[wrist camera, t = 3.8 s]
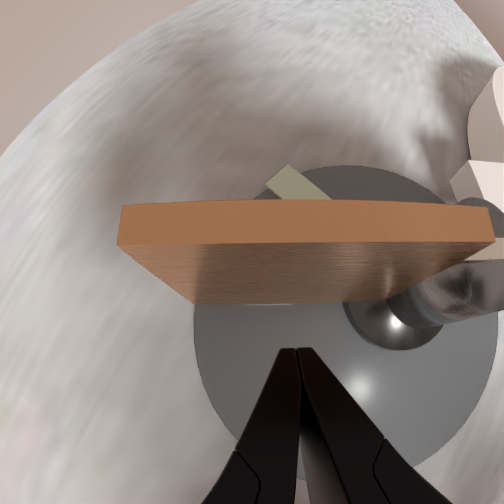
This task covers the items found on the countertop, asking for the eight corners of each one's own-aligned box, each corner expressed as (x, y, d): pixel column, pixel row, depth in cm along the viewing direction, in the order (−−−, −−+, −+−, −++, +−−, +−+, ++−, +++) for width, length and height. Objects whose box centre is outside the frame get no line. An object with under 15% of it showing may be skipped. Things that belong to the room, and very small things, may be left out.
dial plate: (238, 512, 13) (237, 518, 12) (172, 194, 19) (169, 188, 18) (509, 405, 13) (516, 405, 13) (434, 151, 19) (438, 145, 19)
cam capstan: (490, 237, 16) (583, 169, 7) (503, 331, 14) (616, 301, 5) (200, 238, 17) (141, 119, 8) (196, 359, 15) (108, 368, 6)
